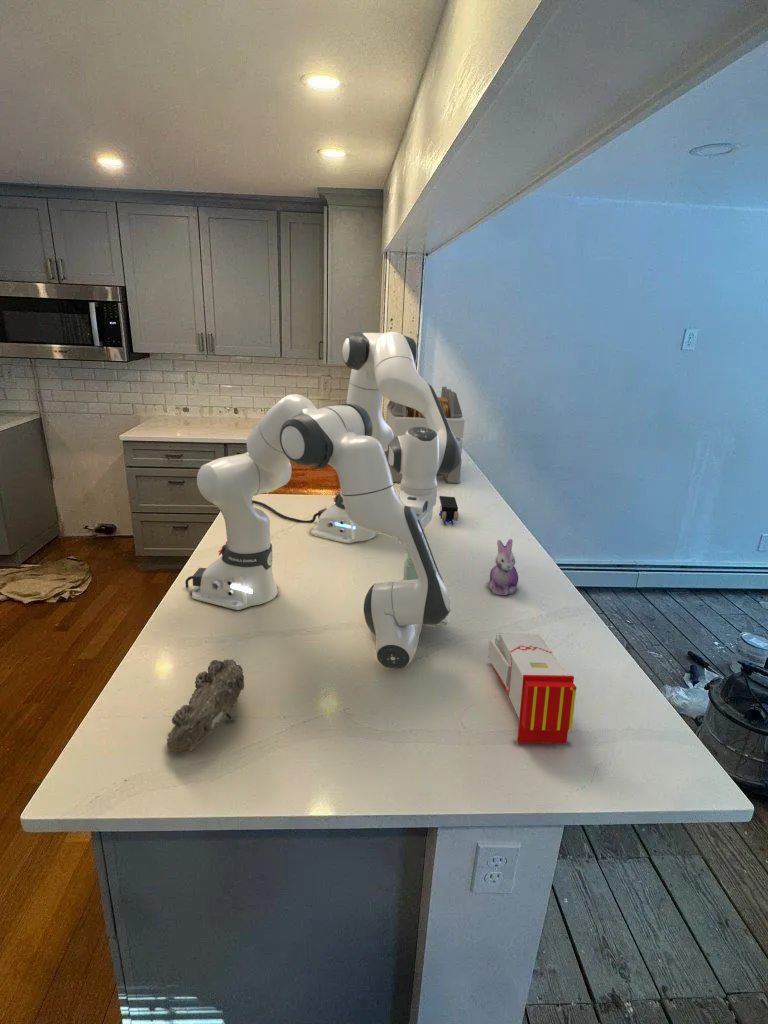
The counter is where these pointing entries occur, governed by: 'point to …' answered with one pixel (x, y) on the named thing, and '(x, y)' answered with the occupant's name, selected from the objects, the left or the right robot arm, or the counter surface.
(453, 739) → the counter surface
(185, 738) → the fossil
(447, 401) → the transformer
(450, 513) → the figurine character
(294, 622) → the counter surface
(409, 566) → the bottle
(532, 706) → the toy
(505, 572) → the figurine
